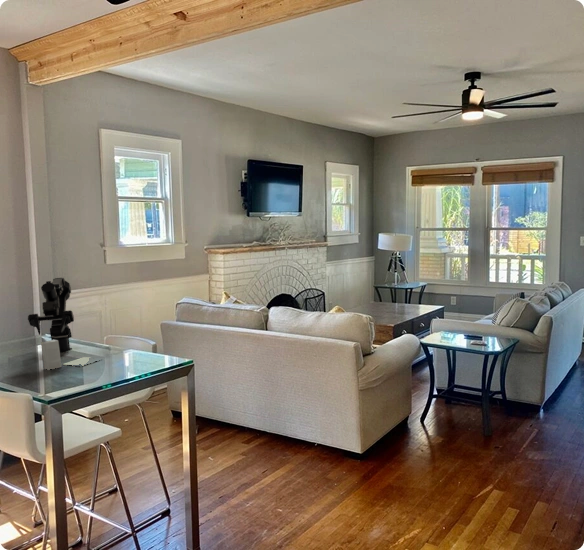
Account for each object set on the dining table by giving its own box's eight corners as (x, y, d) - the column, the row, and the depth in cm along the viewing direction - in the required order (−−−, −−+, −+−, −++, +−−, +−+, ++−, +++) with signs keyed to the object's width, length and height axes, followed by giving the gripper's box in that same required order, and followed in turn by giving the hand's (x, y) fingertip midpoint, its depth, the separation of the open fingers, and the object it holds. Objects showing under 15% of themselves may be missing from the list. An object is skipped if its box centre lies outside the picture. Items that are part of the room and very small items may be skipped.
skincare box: (58, 365, 243) (55, 339, 241) (61, 367, 240) (58, 340, 238) (44, 369, 239) (40, 342, 237) (47, 370, 236) (44, 343, 234)
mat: (84, 357, 254) (84, 356, 254) (102, 359, 248) (102, 359, 248) (62, 364, 244) (62, 364, 243) (81, 367, 238) (81, 366, 238)
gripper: (26, 296, 247) (23, 324, 237) (70, 292, 251) (69, 320, 242) (31, 311, 255) (29, 339, 246) (74, 307, 260) (73, 334, 250)
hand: (50, 333), depth 245 cm, fingers open, 9 cm apart
